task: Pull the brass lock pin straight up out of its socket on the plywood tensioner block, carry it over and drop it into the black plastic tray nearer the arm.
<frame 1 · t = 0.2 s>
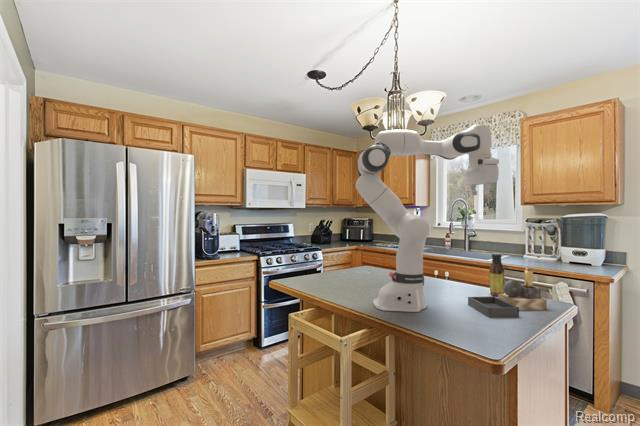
hand: (480, 194, 135), 47 cm above the table, tool pointing down, fingers open, 8 cm apart
lock pin: (528, 296, 132), point 4 cm above the table, touching tensioner block
tray: (492, 310, 127), on the table
tensioner block: (521, 306, 132), on the table
sauce bottle: (497, 295, 149), on the table
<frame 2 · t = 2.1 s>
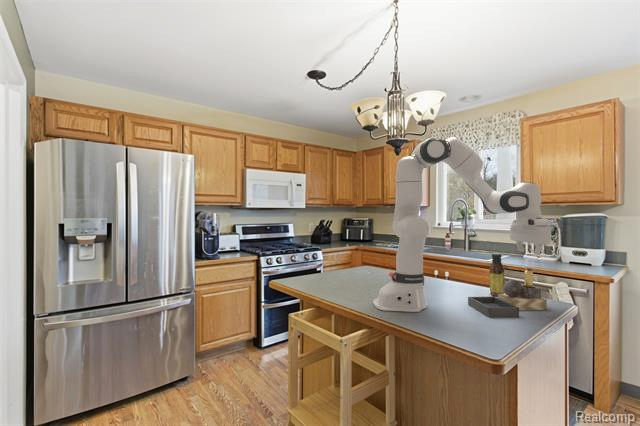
hand: (528, 253, 132), 22 cm above the table, tool pointing down, fingers open, 8 cm apart
nothing on the table moved.
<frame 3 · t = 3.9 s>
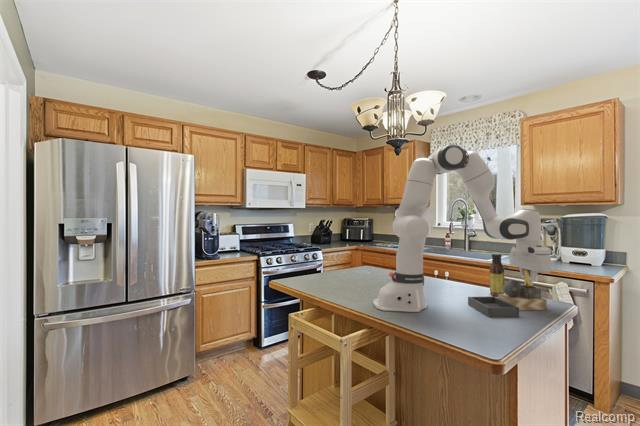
hand: (528, 279, 132), 11 cm above the table, tool pointing down, fingers closed on lock pin, 3 cm apart
lock pin: (528, 296, 132), point 4 cm above the table, touching gripper, tensioner block
everything else where it was.
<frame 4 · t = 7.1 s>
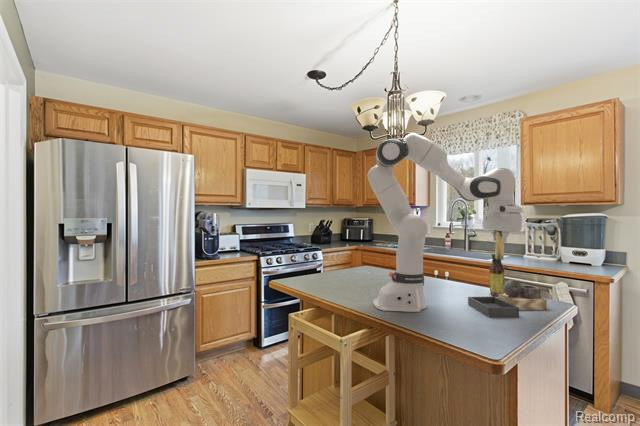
hand: (499, 241, 128), 28 cm above the table, tool pointing down, fingers closed on lock pin, 3 cm apart
lock pin: (499, 259, 128), point 21 cm above the table, touching gripper
everything else where it was.
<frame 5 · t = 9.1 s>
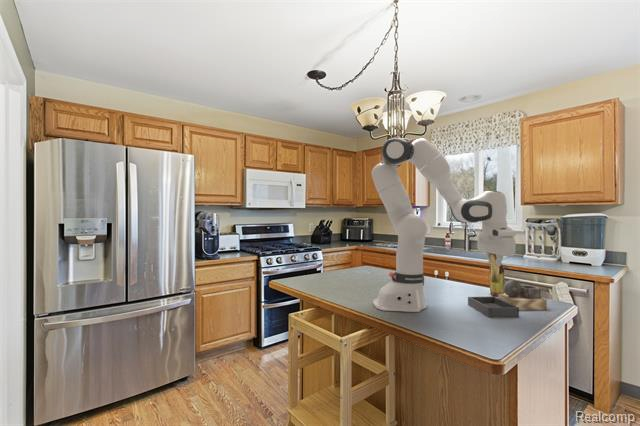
hand: (494, 264, 126), 19 cm above the table, tool pointing down, fingers closed on lock pin, 3 cm apart
lock pin: (495, 282, 127), point 12 cm above the table, touching gripper
everything else where it was.
when the fingers open (10 cm above the table, at t = 10.7 s): lock pin drops 2 cm, resting on tray.
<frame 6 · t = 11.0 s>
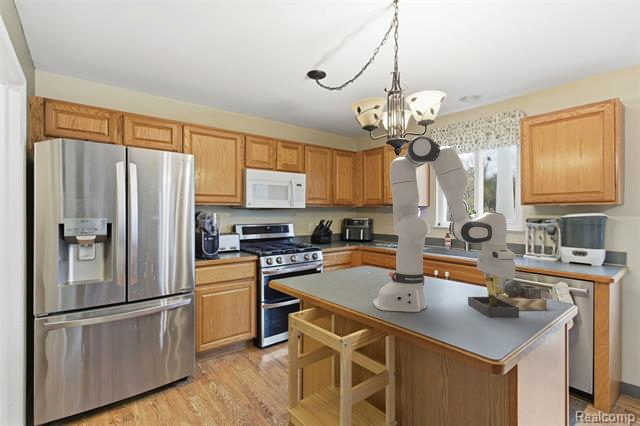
hand: (494, 285, 127), 10 cm above the table, tool pointing down, fingers open, 6 cm apart
lock pin: (494, 307, 127), point 1 cm above the table, tilted 8°, touching tray
everything else where it was.
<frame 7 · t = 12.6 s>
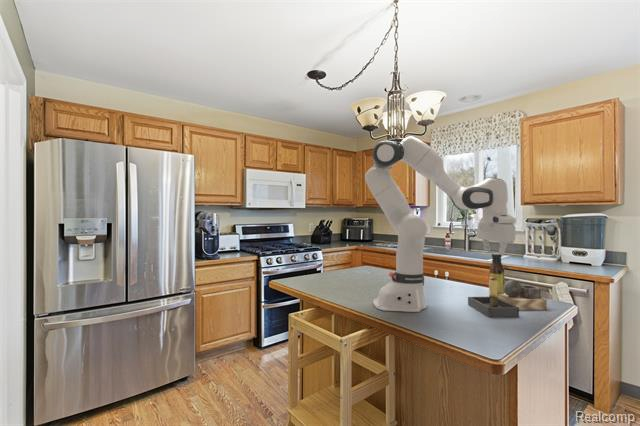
hand: (494, 252, 126), 24 cm above the table, tool pointing down, fingers open, 8 cm apart
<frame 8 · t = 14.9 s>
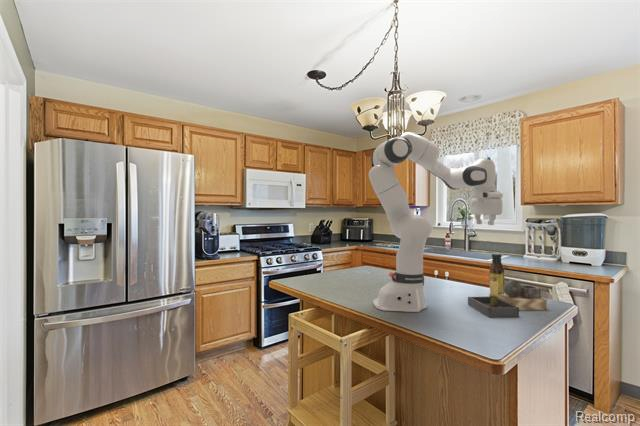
hand: (484, 224, 144), 34 cm above the table, tool pointing down, fingers open, 8 cm apart
nothing on the table moved.
at the end: lock pin inside the target area on the tray (1.0 cm from its centre), point 1.0 cm above the tray's base; the gripper is holding nothing; lock pin touching tray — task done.
